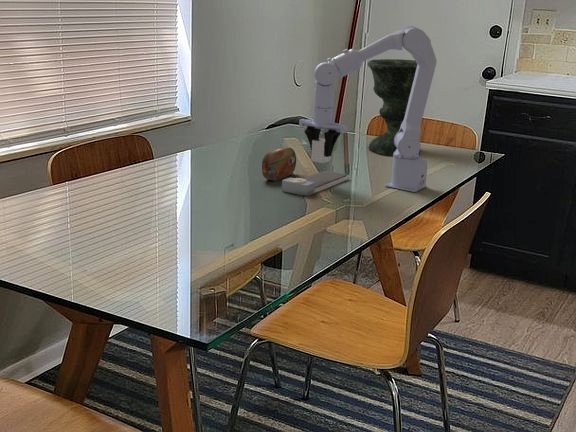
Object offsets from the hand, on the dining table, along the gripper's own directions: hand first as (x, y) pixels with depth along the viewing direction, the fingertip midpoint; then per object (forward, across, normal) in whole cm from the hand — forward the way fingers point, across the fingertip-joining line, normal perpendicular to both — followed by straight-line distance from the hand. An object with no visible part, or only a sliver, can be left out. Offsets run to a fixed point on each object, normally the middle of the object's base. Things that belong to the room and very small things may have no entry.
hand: (321, 154), depth 211 cm
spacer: (+2, 0, 0) cm, 2 cm away
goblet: (+9, -3, +54) cm, 55 cm away
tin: (+9, -13, -2) cm, 16 cm away
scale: (+8, 0, -2) cm, 9 cm away
